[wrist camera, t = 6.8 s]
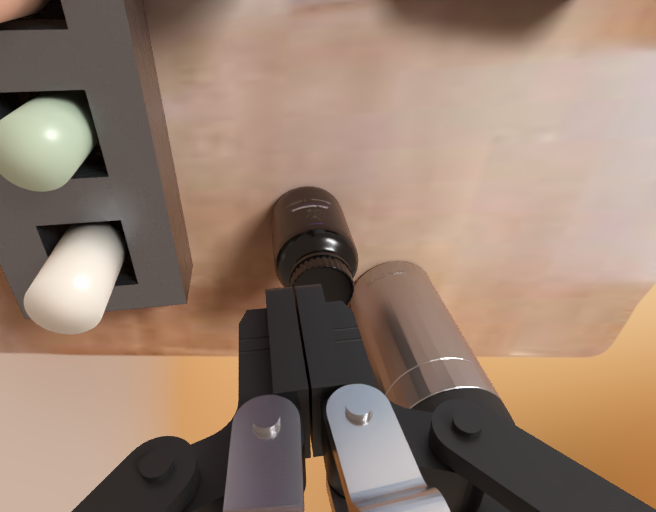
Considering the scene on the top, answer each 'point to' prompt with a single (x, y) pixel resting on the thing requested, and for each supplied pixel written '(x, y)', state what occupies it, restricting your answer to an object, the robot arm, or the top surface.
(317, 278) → the supplement bottle
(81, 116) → the pale green rounded peg
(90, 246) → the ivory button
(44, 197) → the three peg holder
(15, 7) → the peach rounded peg
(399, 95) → the top surface
